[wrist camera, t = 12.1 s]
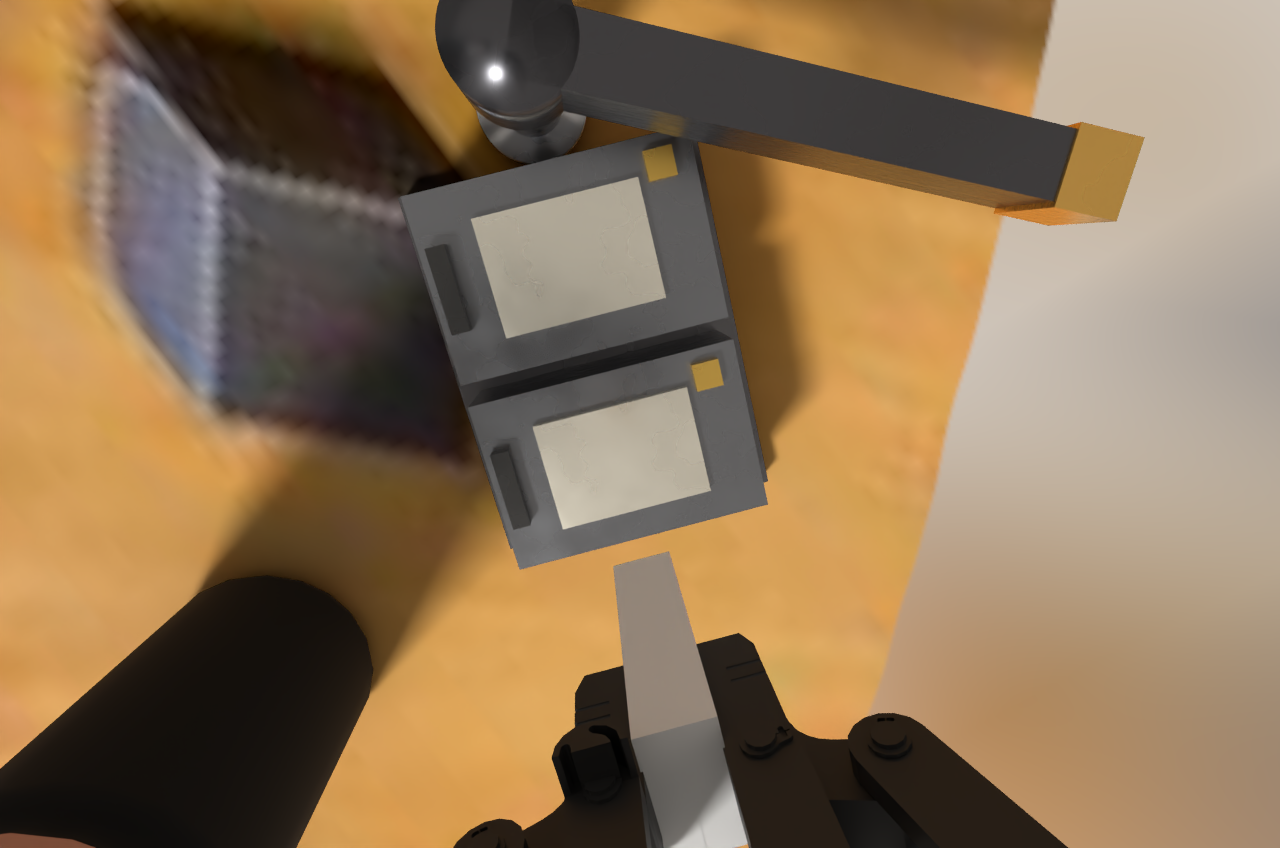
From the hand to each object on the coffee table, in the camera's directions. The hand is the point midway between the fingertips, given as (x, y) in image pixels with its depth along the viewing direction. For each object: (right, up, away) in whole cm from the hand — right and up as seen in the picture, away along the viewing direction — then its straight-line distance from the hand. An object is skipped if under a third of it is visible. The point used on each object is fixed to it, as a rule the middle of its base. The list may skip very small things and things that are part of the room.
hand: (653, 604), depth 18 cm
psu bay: (-3, +9, +17) cm, 19 cm away
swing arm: (+5, +16, +8) cm, 18 cm away
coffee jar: (-20, -8, +19) cm, 29 cm away
